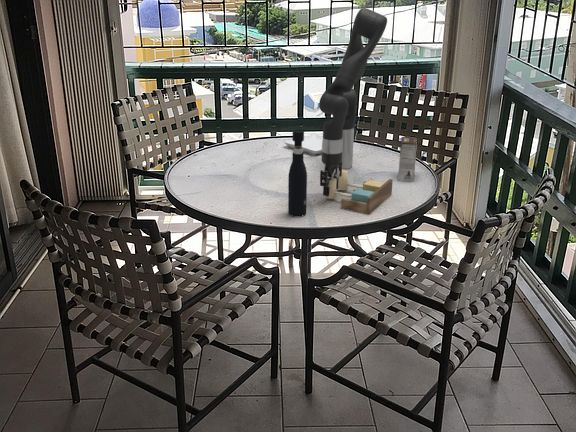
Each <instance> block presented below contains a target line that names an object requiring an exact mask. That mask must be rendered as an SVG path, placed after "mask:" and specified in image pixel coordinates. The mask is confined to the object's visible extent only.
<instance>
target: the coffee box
mask: <svg viewBox="0 0 576 432" xmlns="http://www.w3.org/2000/svg"><path fill="white" fill-rule="evenodd" d="M417 146H418V137H415V136H414V137H413V136H401V141H400V148H399V162H398V173H397V174H398V175H397V181H398V182H399V181H400V182H414V181H415V180H414V179H415V178H414V177H415V171H416V158H417V149H418V148H417Z"/></svg>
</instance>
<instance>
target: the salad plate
mask: <svg viewBox="0 0 576 432" xmlns="http://www.w3.org/2000/svg"><path fill="white" fill-rule="evenodd" d="M322 140H323V135H321V134H316V133H313V134H308V135H304V141H302V148H303V150H302V151H303V153H308V154H311V155H320V154H321V155H322ZM283 143H284V144H285V145H286V146H288V147H290V148H292V149H294V147H295V146H294V141H293V140H292V139H290V140H289V139H288V140H285V141H284V142H283Z"/></svg>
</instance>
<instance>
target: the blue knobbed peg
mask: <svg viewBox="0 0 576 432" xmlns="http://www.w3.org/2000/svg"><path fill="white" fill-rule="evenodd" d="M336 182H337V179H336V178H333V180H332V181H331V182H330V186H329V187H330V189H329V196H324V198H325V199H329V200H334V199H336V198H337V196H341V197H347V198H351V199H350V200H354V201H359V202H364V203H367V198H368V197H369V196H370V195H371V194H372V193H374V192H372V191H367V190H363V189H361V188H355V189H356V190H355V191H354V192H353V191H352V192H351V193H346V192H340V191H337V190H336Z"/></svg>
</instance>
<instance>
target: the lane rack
mask: <svg viewBox="0 0 576 432" xmlns="http://www.w3.org/2000/svg"><path fill="white" fill-rule="evenodd" d="M366 181H367V180H365V181H363V184H364V183H365V182H366ZM383 183H384V184H383V185H382V186H381V187H380V188H378V189H377V190H376V191H375V192H374V193H372V194H371V195H370V196H369V197H368V198H367V203H364V202H359V201H354V200H351V199H349V198H348V199H347V198H341V199H340V200H341V201H340V209H342V208H344V209H343V210H347V209H348V210H347V211H351V210H352V212H356V213H357V212H358V213H361V212H362V214H367V215H371V214H372V213H373V212H374V211H375V210H376V209H377V208H378V207H379V206H380V205H382V204H383V203H384V202H385V201H386V200H387V199H388V198H390V196H392V193H393V179H392V178H389V179H388V180H387V181H385V182H383ZM356 189H357V188H355V189H353V190H352V192H354V191H355V190H356Z"/></svg>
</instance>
